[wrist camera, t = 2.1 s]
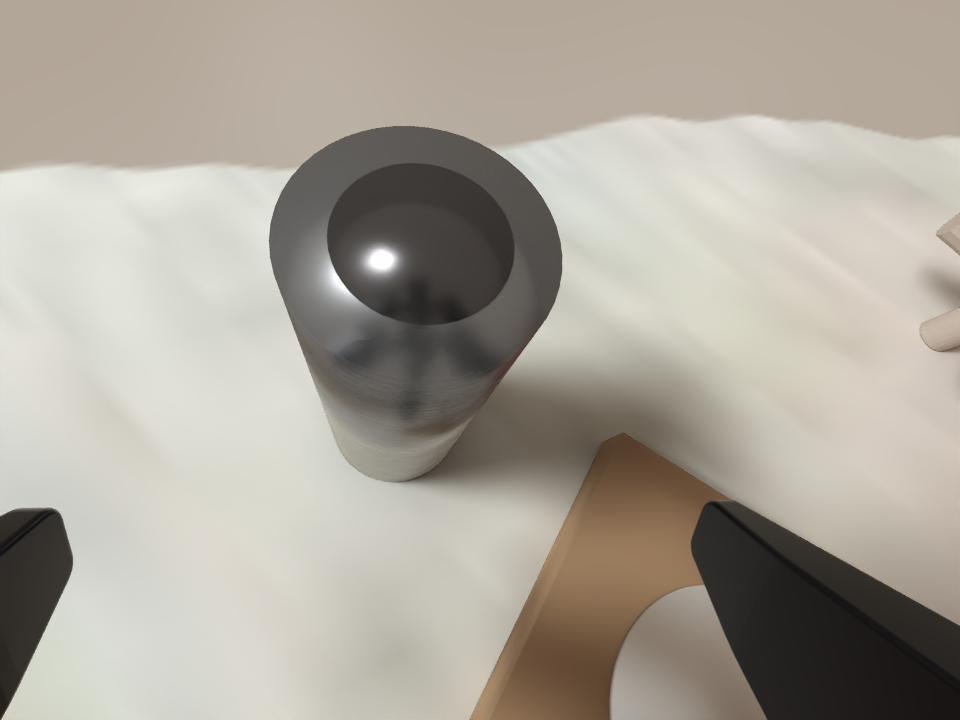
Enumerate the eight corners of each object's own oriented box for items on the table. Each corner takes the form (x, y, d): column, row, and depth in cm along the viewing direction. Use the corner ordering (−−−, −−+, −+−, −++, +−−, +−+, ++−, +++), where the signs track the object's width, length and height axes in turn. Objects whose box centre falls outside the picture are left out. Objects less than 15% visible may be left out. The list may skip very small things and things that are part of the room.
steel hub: (414, 506, 20) (474, 438, 8) (306, 437, 20) (197, 263, 8) (478, 402, 22) (606, 218, 10) (379, 340, 22) (384, 82, 10)
